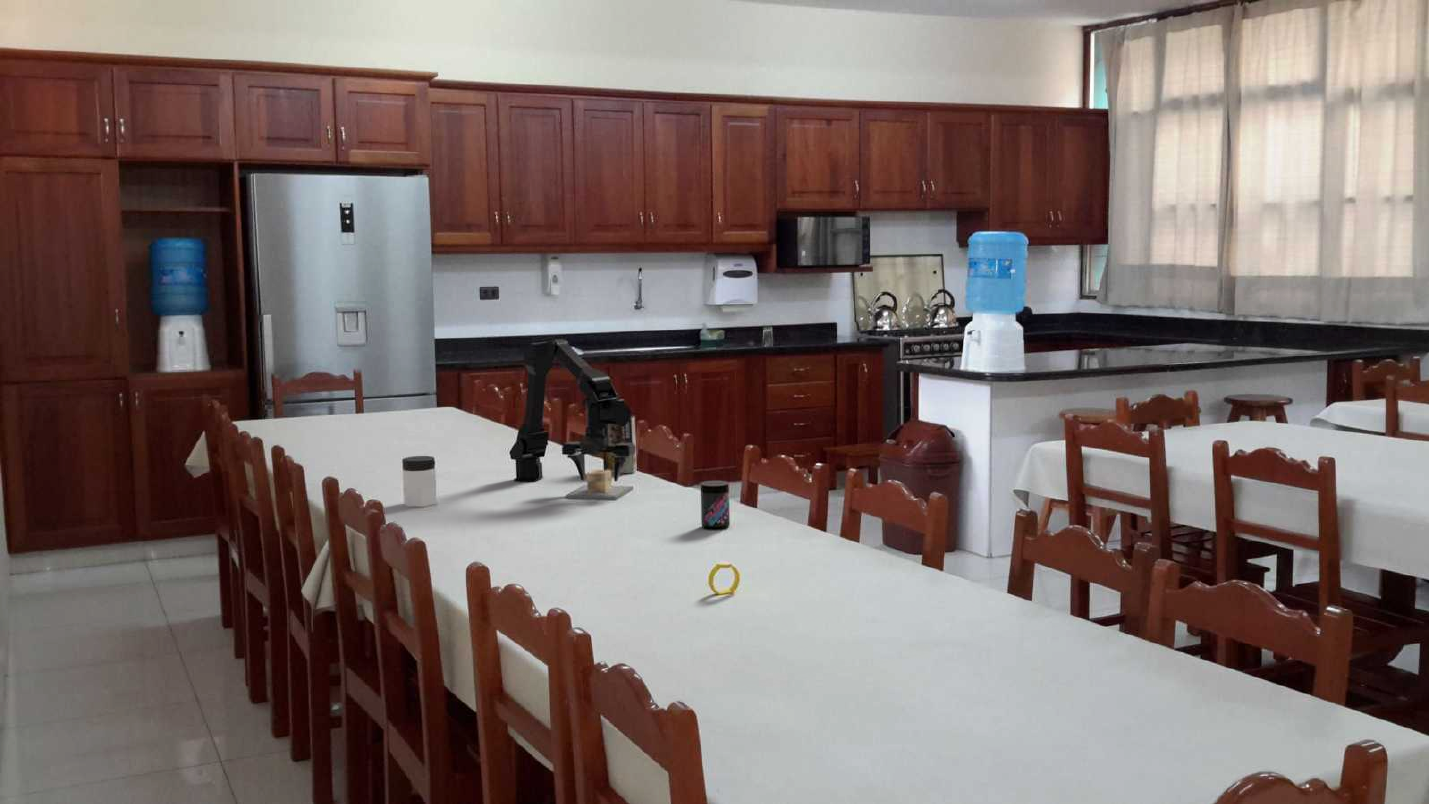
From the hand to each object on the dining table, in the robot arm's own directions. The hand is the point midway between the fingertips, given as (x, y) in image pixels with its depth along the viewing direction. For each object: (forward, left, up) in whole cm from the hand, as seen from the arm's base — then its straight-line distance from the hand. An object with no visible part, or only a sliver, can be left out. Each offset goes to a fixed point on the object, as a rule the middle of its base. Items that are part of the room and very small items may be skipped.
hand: (599, 480), depth 332 cm
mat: (0, 0, -4) cm, 4 cm away
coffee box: (-5, +32, -4) cm, 33 cm away
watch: (+55, -86, -4) cm, 102 cm away
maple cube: (0, 0, -3) cm, 3 cm away
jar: (-42, -20, -4) cm, 47 cm away
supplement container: (+40, -33, -4) cm, 52 cm away
